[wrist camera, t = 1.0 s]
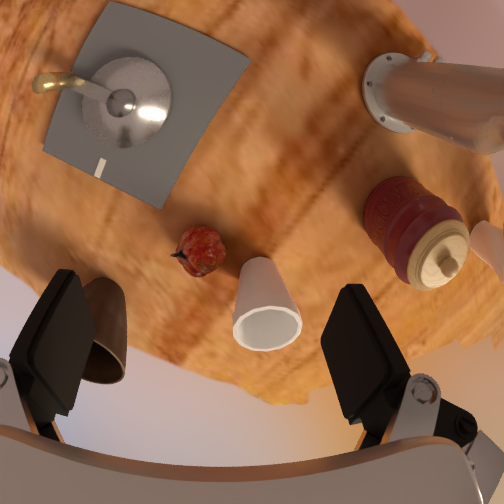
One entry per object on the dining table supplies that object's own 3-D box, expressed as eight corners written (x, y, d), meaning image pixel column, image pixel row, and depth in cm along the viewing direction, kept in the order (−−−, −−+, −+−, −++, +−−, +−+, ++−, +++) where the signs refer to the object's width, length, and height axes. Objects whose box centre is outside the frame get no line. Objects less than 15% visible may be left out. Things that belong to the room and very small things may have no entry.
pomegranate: (228, 217, 44) (176, 212, 36) (252, 253, 41) (198, 255, 33) (205, 247, 48) (154, 248, 40) (225, 282, 45) (173, 289, 37)
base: (111, 2, 21) (107, -1, 20) (251, 61, 29) (252, 59, 28) (45, 147, 32) (40, 149, 30) (163, 206, 40) (160, 210, 38)
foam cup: (246, 240, 44) (252, 297, 33) (296, 260, 47) (315, 316, 36) (222, 283, 48) (222, 342, 37) (269, 298, 51) (279, 356, 40)
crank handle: (191, 79, 29) (177, 76, 21) (146, 159, 34) (124, 181, 26) (90, 38, 23) (54, 31, 15) (56, 116, 28) (18, 129, 21)
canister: (347, 230, 44) (395, 304, 29) (384, 161, 38) (457, 212, 23) (400, 250, 47) (449, 316, 33) (434, 192, 41) (499, 245, 26)
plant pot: (159, 303, 50) (143, 374, 37) (112, 328, 53) (93, 390, 40) (103, 247, 42) (65, 314, 29) (62, 282, 46) (29, 342, 33)
